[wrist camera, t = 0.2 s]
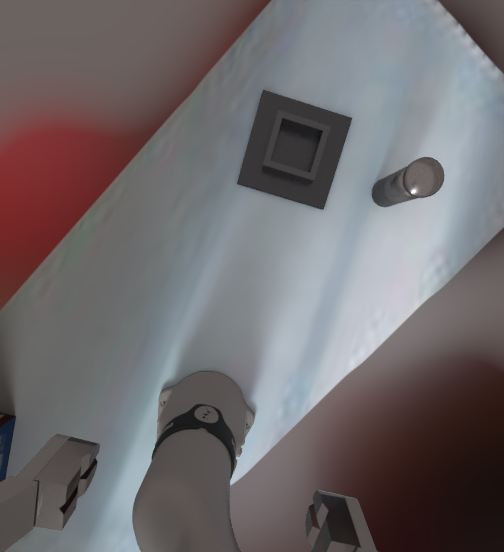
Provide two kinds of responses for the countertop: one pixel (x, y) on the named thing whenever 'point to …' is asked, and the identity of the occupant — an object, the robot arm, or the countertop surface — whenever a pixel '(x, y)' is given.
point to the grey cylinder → (409, 183)
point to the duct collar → (293, 150)
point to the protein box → (5, 441)
